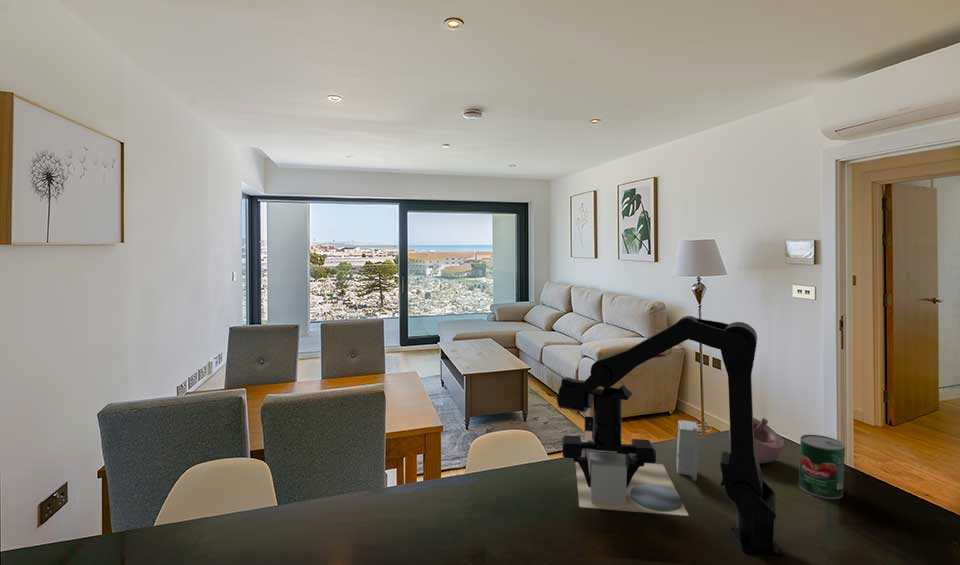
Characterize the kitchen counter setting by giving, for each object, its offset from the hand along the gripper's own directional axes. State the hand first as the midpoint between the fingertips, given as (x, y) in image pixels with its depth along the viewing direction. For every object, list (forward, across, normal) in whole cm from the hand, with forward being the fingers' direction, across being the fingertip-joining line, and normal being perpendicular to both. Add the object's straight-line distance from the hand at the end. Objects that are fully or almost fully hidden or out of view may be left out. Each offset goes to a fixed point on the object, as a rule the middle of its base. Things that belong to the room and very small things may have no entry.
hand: (606, 487), depth 96 cm
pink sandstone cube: (+2, 0, -12) cm, 13 cm away
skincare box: (+3, -20, -14) cm, 25 cm away
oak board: (+3, -4, -6) cm, 8 cm away
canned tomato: (+3, -47, -12) cm, 48 cm away
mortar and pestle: (+3, -39, -24) cm, 46 cm away
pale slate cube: (+2, 0, 0) cm, 2 cm away
